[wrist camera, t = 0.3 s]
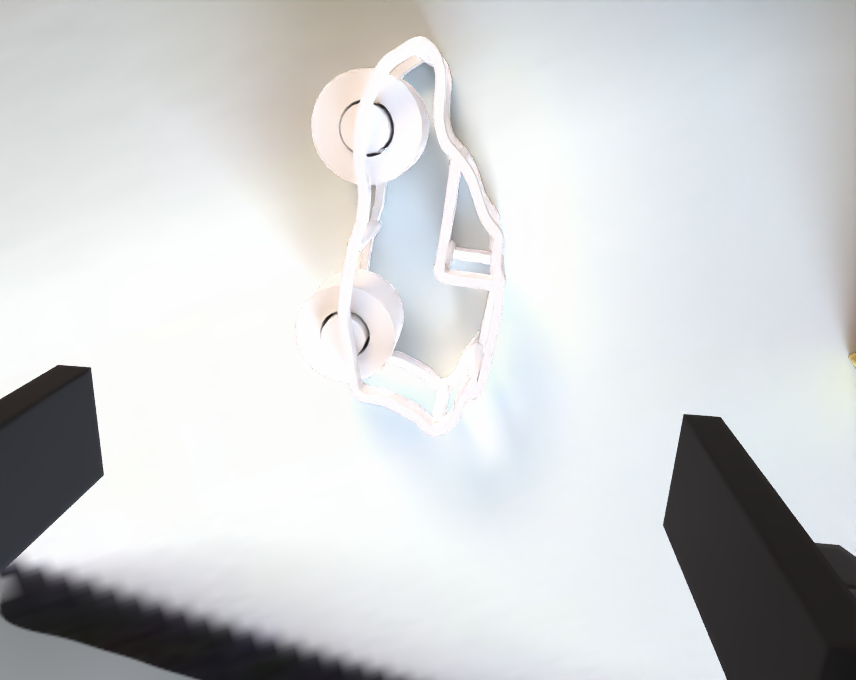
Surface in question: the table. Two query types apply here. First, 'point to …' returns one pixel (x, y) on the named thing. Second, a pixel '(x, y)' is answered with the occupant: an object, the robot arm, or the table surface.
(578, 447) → the table surface
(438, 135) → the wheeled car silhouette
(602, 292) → the table surface
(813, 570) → the robot arm
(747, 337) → the table surface
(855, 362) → the candy box
